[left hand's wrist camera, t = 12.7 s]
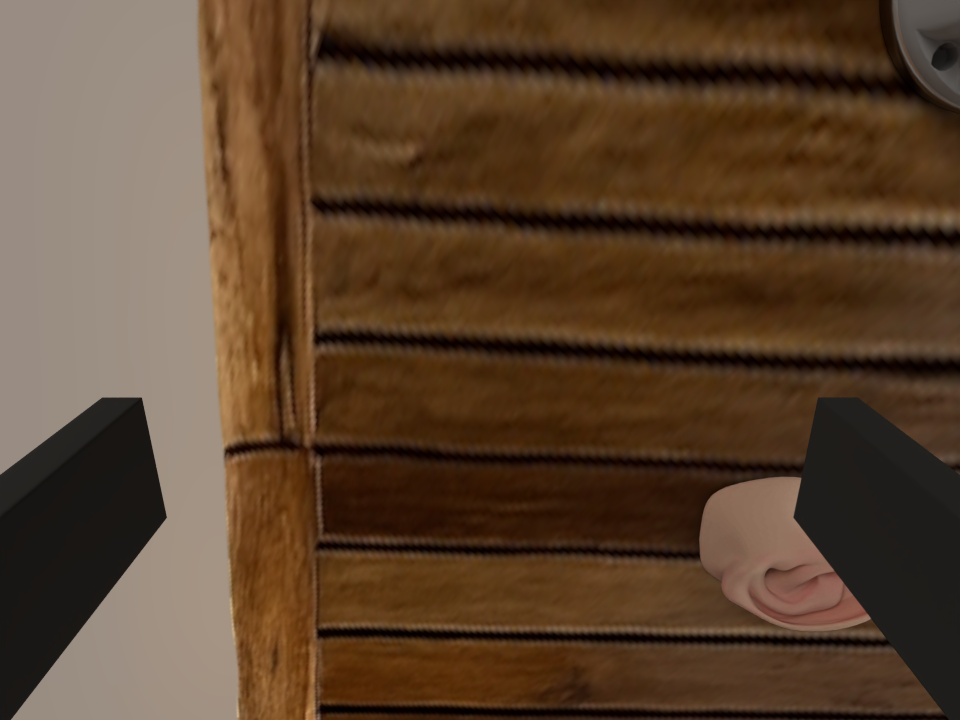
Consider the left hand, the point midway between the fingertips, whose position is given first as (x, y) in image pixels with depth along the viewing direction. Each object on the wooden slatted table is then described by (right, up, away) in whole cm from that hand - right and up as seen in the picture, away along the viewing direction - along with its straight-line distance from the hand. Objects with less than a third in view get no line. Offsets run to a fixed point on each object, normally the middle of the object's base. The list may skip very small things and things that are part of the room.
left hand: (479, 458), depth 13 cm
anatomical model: (+23, -12, +36) cm, 44 cm away
